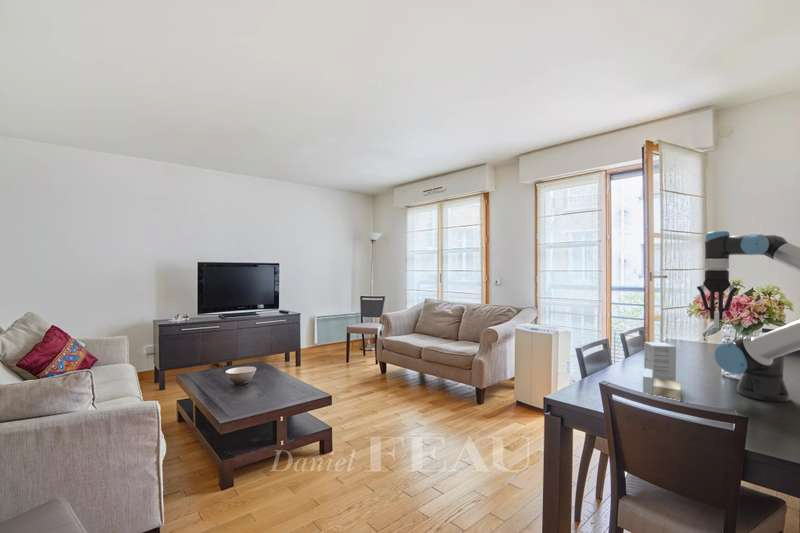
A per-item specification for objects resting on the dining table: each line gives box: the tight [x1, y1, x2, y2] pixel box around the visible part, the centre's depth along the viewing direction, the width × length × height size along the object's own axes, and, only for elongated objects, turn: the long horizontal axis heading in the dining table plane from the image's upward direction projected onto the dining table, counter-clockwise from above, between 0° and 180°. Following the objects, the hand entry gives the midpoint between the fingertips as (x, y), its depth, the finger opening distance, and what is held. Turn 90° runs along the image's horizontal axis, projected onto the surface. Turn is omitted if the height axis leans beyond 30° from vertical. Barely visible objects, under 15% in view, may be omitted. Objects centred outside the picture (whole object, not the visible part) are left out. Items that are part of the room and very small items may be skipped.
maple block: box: [652, 378, 682, 401], centre depth 154 cm, size 9×12×5 cm
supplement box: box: [643, 341, 677, 385], centre depth 172 cm, size 10×9×17 cm
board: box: [642, 367, 653, 394], centre depth 158 cm, size 3×14×8 cm, turn 146°
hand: (716, 327), depth 157 cm, fingers closed
